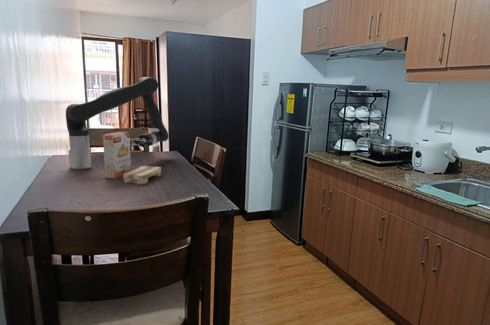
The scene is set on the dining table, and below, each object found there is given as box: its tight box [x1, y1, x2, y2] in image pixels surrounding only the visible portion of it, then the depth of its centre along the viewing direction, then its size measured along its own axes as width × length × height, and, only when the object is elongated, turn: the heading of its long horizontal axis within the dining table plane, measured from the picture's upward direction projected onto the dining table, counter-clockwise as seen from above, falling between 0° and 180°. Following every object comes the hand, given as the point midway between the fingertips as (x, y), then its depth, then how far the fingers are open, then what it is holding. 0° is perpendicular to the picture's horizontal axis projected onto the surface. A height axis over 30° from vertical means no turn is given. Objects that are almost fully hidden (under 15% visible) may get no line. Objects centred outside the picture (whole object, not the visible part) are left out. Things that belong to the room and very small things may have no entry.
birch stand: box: [122, 165, 162, 185], centre depth 154 cm, size 10×18×4 cm, turn 170°
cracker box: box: [102, 131, 132, 180], centre depth 157 cm, size 14×6×21 cm, turn 168°
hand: (133, 144), depth 170 cm, fingers open, 8 cm apart
